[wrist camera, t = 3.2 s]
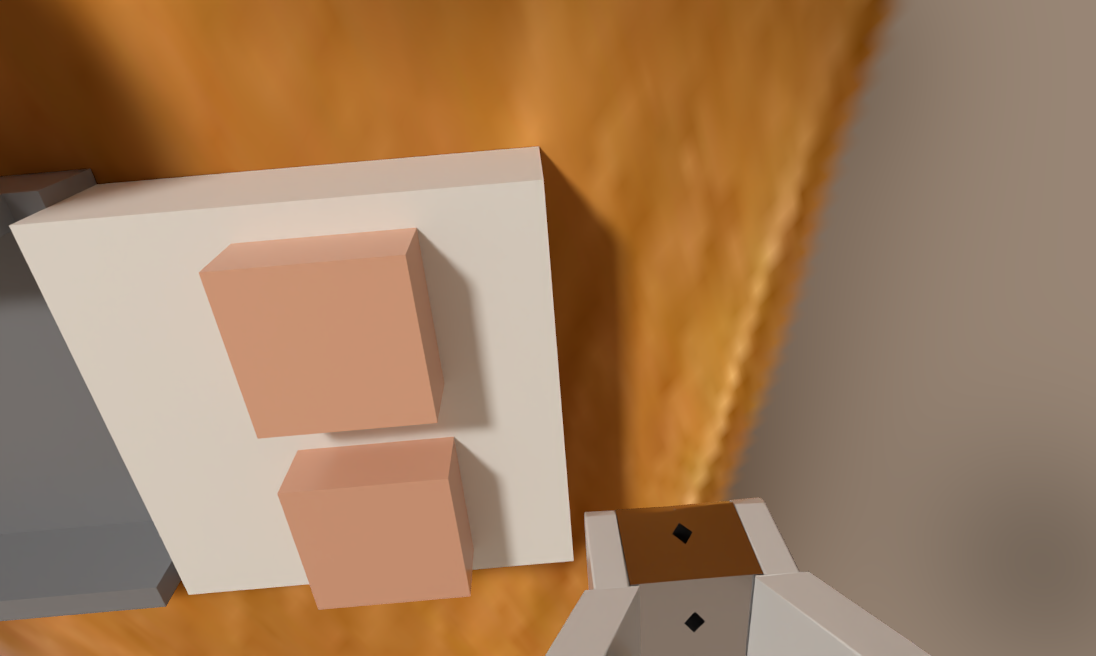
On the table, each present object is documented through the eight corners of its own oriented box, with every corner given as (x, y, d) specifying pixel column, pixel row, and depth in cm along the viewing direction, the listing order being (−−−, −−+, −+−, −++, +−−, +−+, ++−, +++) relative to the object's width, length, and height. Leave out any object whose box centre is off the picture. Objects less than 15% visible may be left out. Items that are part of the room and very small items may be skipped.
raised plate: (96, 184, 20) (8, 225, 17) (538, 146, 20) (543, 179, 17) (231, 515, 27) (188, 594, 23) (566, 485, 27) (573, 560, 23)
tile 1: (230, 243, 17) (198, 272, 16) (416, 227, 17) (405, 254, 16) (280, 398, 20) (257, 438, 18) (444, 383, 20) (437, 423, 18)
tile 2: (297, 450, 21) (277, 493, 19) (453, 436, 21) (448, 478, 19) (333, 561, 23) (318, 609, 21) (474, 549, 23) (470, 596, 21)
